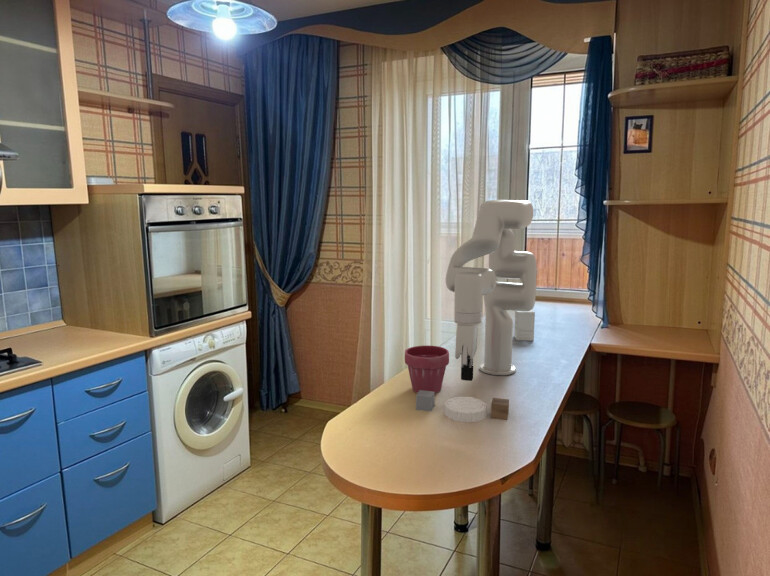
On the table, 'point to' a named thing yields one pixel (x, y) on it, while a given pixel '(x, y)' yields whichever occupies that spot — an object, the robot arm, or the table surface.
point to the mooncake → (465, 409)
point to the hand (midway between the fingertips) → (467, 379)
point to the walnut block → (500, 408)
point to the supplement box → (524, 325)
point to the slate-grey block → (425, 400)
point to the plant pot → (426, 367)
